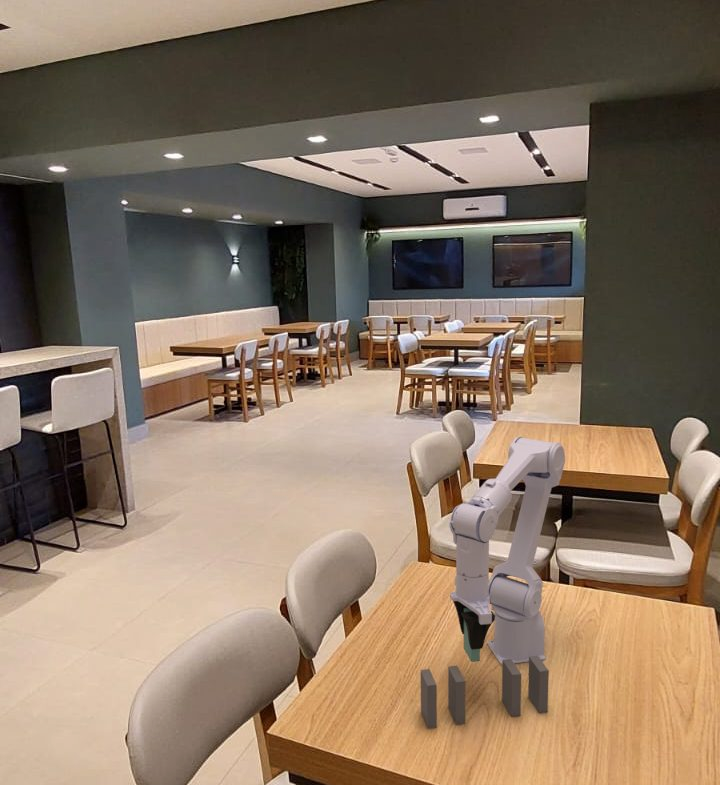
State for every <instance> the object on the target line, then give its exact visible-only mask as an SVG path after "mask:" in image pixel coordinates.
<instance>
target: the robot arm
mask: <svg viewBox="0 0 720 785" xmlns="http://www.w3.org/2000/svg"><path fill="white" fill-rule="evenodd" d="M507 454H508V455H507V456H508V459H507V461H506V462H505V464H504V465H503V466H502V468H501V470H500V471H499V472H498V474H497V475H496V477H495V478H488V479H487V480H485V481H484V482H483V483H482V485H481V486H480V487H479V489H477V491H476V492H474V494H473V496H472V497H471V498H470V499H469V500H468V501H467V503H465V502H464V503H463V502H462V503H460V504H458V505H456V506H455V507H454V509H453V511H452V513H451V516H450V521H449V524H448V525H449V530H450V532H451V534H452V536H453V540H452V542H453V543H454V545H455V546H456V551H455V552H456V555H455V557H456V560H455V561H456V563H455V564H456V565H455V567H456V568H455V569H456V570H455V572H456V574H455V575H454V586H455V590H454V591H452V592H449V598H450V600H451V601H452V602H453V605H454V607H455V610H456V613H457V618H458V622H459V628H460V631H461V634H462V635H464V621H465V623H466V627H467V631H468V639H469V645H470V648H471V649H472V650H474V649H480V650H481V649H483V647H484V644H485V640H486V637H487V634H488V631H489V629H490V627H491V626H492V624H493V623H494V629H493V630H494V633H493V636H494V637H493V638H494V639H493V640H488V641H487V642H486V644H487V645H488V647H489V648H490V650H491V651H492V653H493V655H494V656H495V658H496V660H497V661H498V662H499V664H500V665H501V666H502V663H503V660H506V659H512V661H513V662H514V664H515V665H516V664H524V663H529V657H531V656H538V657H539V658H540V660H541V661H545V660H546V659H547V658H546V656H545V655H546V654H545V633H546V630H545V629H546V627H545V621H544V617H543V614H542V613H541V610H540V608H541V605H542V598H543V597H542V596H543V594H542V593H543V592H542V591H543V583H544V582H543V580H542V579H541V577H540V576H539V574H538V573H537V572H536V571H535V569H534V567H533V566H534V561H535V556H536V553H537V549H538V545H539V541H540V536H541V532H542V529H543V523H544V520H545V516H546V514H547V513H546V512H547V508H548V503H549V500H550V495H551V492H552V488H554V487H557V486H559V485H560V482H561V479H562V475H563V471H564V467H565V463H566V454H565V449H564V447H563V445H562V443H560V442H557V441H556V442H551V441H545V440H539V439H532V438H524V437H522V436H516V437H515V438H514V439H513V440H512V441H511V443H510V444H509V447H508V453H507ZM521 481H523V482H524V485H525V488H524V489H525V490H524V494H523V497H522V500H521V501H522V502H521V506H520V508H519V509H520V510H519V513H518V517H517V522H516V525H515V529H514V534H513V537H512V540H511V546H510V549H509V553H508V557H507V560H505V561H503V562H502V563H500V564H496V566H494V567H493V570H492V573H491V575H490V577H489V574H490V571H489V568H490V540H491V539H492V538H493V536H494V533H495V532H496V528H497V524H498V523H499V517H500V515H501V514H502V513H503V511H504V510H505V509H506V508H507V506H509V504H510V502H512V499H513V498H512V496H513V495H512V490H514V488H515V487H516V486H517V485H518V484H519V483H520V482H521ZM512 577H514V578H517V579H520V580H524V581H525V582H523V581H520V580H517V579H514V578H512ZM464 608H469V609H470V610H472V611H468V612H464Z"/></svg>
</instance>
